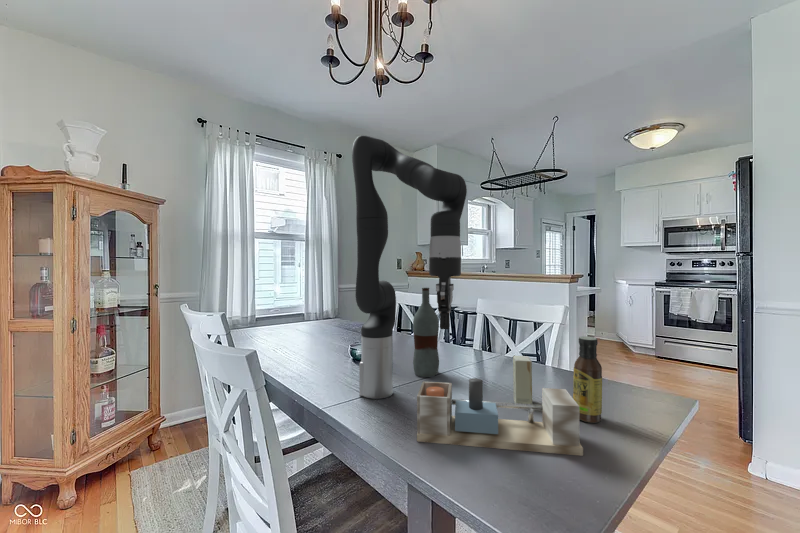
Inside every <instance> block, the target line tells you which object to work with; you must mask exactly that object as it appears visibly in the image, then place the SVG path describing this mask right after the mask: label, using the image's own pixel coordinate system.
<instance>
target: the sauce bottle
mask: <svg viewBox="0 0 800 533" xmlns="http://www.w3.org/2000/svg"><path fill="white" fill-rule="evenodd" d="M578 344H579V347H578V349H579V353H578V358H577V359H576V360H575V362H574V364H573V371H572V372H573V377H572V378H573V379H572V380H573V382H572V383H573V384H572V385H573V386H572V387H573V388H572V389H573V391H572V392H573V393H572V398H573V399H574V400H575V402H576V403H577V404H578V405H579V421H583V422H585V423H590V424H597V423H599V422H601V421H602V413H603V412H602V409H603V407H602V406H603V405H602V404H603V400H602V399H603V370H602V369H603V368H602V365H601V362H600V361H599V360H598V358H597V356H598V354H597V346H598V338H596V337H593V336H585V335H583V336H579V337H578Z"/></svg>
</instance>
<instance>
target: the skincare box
mask: <svg viewBox="0 0 800 533" xmlns="http://www.w3.org/2000/svg"><path fill="white" fill-rule="evenodd" d="M532 365H533V362H532V359H531V358H530V357H529V356H527V355H526V356H525V355H512V379H513V380H512V382H513V384H512V386H513V391H512V392H513V397H512V398H513V401H514V402H513V403H520V404H533V366H532Z"/></svg>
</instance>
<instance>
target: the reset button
mask: <svg viewBox="0 0 800 533" xmlns="http://www.w3.org/2000/svg"><path fill="white" fill-rule="evenodd" d="M426 395H427V396H438V397H444V389H443V388H441V387H428V388H427V389H426Z"/></svg>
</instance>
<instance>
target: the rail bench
mask: <svg viewBox="0 0 800 533" xmlns="http://www.w3.org/2000/svg"><path fill="white" fill-rule="evenodd" d="M452 386H453V384H452V382H441V381H439V382H436V381H422V383H421V385H420V387H419V390H418V392H417V395H416V430H417V431H416V442H419V443H430V444H431V443H432V444H442V445H455V446H467V447H476V448H477V447H478V448H489V449H490V448H491V449H501V450H511V451H522V452H533V453H534V452H536V453H546V454H547V453H548V454H558V455H559V454H560V455H571V456H580V457H582V456H583V457H584V447H583V446H582V444H581V443H580V419H579V405H578V404H577V403H576V402H575V400H574V399H573V396H572V395H571V394H570V393H569V392H568V390H567V389H566V388H551V387H550V388H548V387H547V388H546V387H542V389H541V393H542V395H541V397H542V402H541V403H542V404H541V405H542V407H543V410H541V413H542V415H541V416H542V417H541V418H542V421H534V423H529V422H528V420H520V419H518V420H517V419H504V418H498V434H488V433H476V432H463V431H455V415H452V414H453V412H452V411H453V405H452V399H453V397H452V396H453V394H452V393H453V392H452V391H453V387H452ZM428 387H441V388H443V389H444V397H438V396H427V395H426V389H427V388H428Z"/></svg>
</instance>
